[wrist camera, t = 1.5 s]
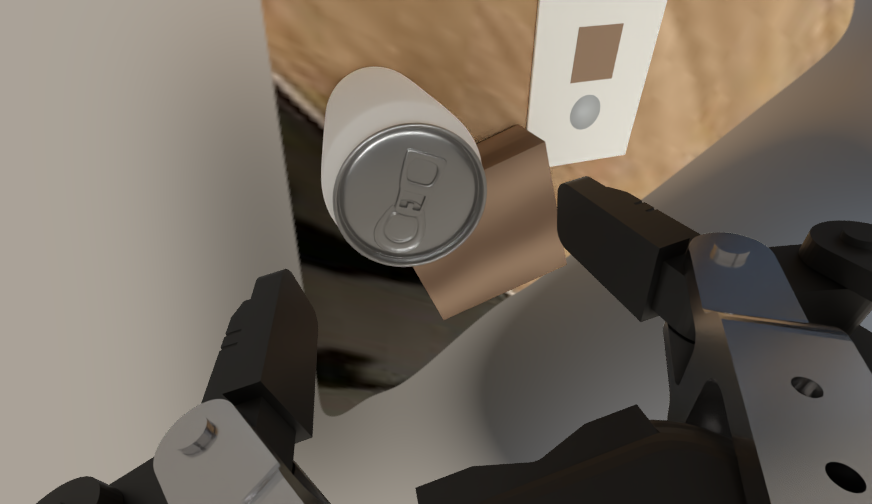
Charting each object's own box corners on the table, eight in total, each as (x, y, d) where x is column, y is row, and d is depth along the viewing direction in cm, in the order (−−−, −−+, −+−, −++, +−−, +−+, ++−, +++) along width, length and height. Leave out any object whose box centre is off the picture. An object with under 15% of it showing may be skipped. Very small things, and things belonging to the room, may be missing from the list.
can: (316, 155, 22) (303, 263, 12) (337, 46, 19) (342, 76, 9) (409, 180, 24) (459, 285, 15) (441, 87, 21) (528, 143, 12)
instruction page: (540, -30, 19) (543, -31, 19) (675, -38, 21) (678, -38, 20) (522, 170, 26) (523, 171, 26) (623, 153, 28) (625, 154, 27)
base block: (378, 190, 24) (383, 217, 21) (518, 124, 24) (545, 141, 21) (433, 288, 31) (443, 319, 28) (543, 238, 30) (566, 264, 27)
